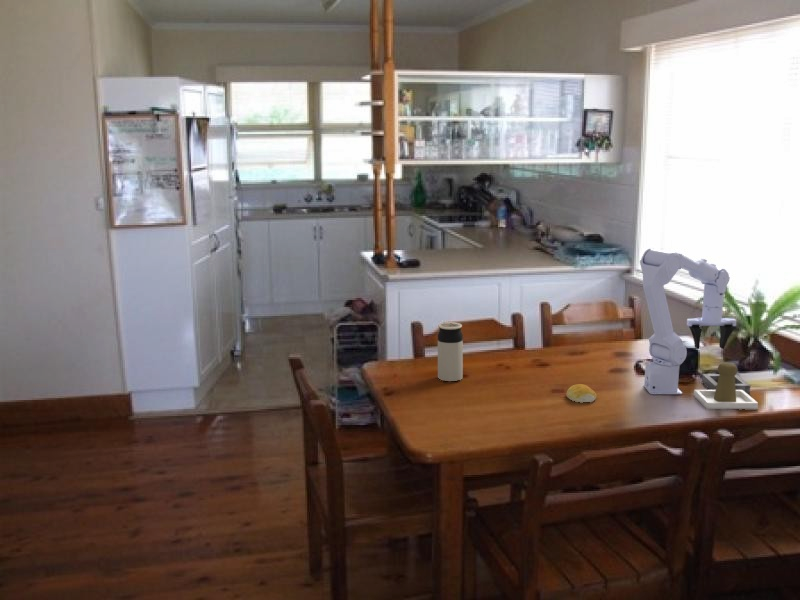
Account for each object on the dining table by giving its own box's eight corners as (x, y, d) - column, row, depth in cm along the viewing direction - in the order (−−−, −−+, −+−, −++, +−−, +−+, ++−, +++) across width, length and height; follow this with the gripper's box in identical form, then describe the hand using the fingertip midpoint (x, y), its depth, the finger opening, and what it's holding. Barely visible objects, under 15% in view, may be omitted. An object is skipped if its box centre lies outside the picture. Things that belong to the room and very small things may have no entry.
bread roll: (588, 392, 228) (588, 379, 228) (599, 402, 220) (600, 390, 219) (561, 393, 227) (562, 381, 226) (572, 404, 219) (573, 391, 218)
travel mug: (459, 384, 237) (459, 329, 233) (434, 381, 239) (434, 327, 235) (465, 376, 244) (465, 322, 240) (441, 373, 247) (441, 321, 243)
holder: (714, 393, 225) (714, 385, 225) (701, 381, 235) (702, 374, 235) (749, 393, 225) (750, 385, 224) (735, 381, 235) (736, 374, 234)
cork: (737, 404, 215) (740, 367, 212) (714, 402, 217) (717, 365, 214) (735, 397, 221) (738, 361, 218) (713, 395, 222) (716, 359, 220)
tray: (707, 409, 213) (707, 403, 212) (693, 396, 223) (694, 389, 223) (757, 409, 212) (758, 403, 212) (741, 396, 223) (742, 389, 222)
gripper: (731, 302, 235) (728, 344, 239) (684, 302, 236) (681, 344, 239) (740, 307, 229) (736, 350, 232) (692, 308, 229) (689, 350, 232)
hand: (709, 347), depth 235 cm, fingers open, 7 cm apart
